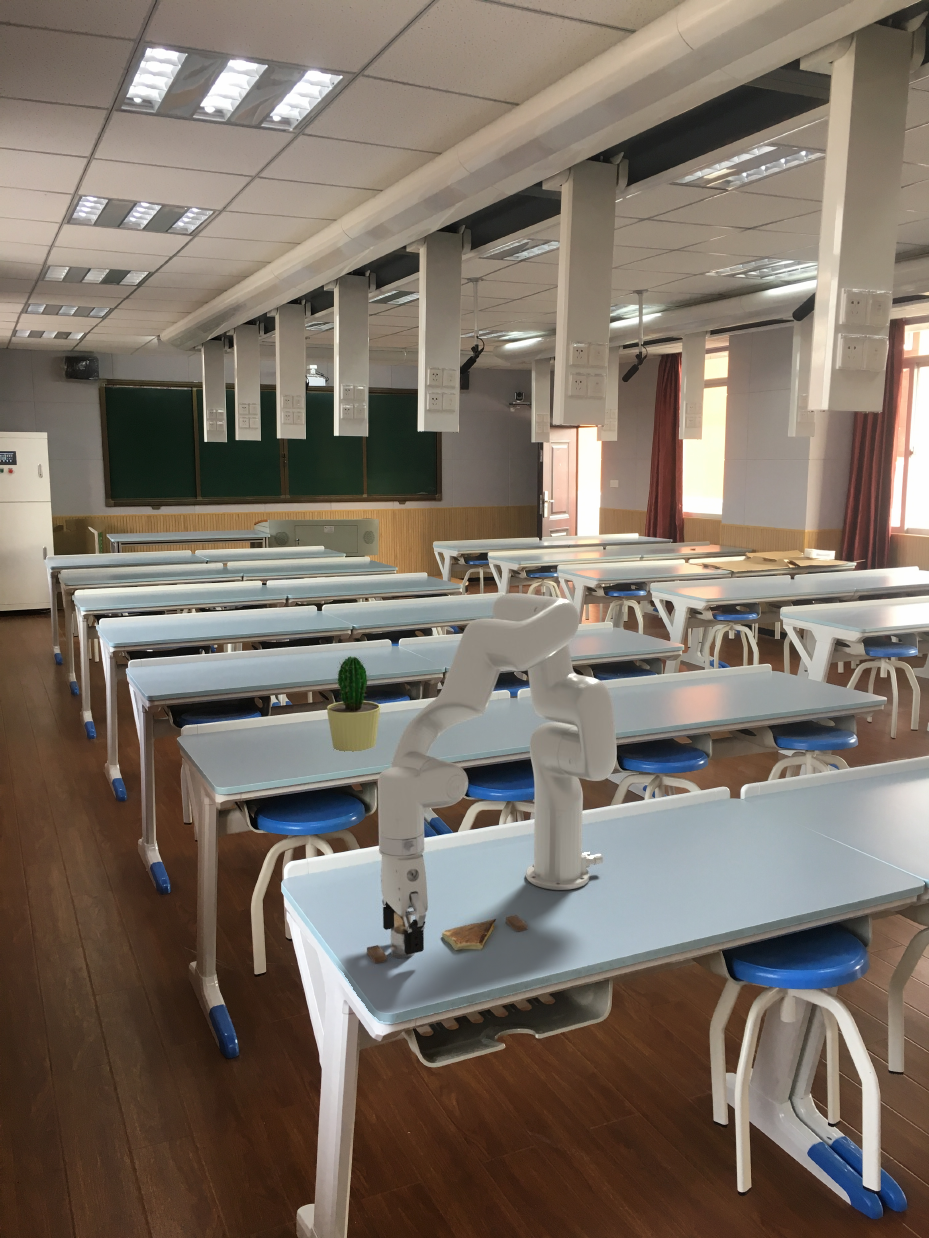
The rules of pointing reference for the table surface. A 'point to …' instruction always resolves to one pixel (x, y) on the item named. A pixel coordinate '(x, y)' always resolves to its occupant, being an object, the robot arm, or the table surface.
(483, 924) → the shard
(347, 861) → the table surface
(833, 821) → the table surface
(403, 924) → the gold capped bottle
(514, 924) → the small brown blocks
